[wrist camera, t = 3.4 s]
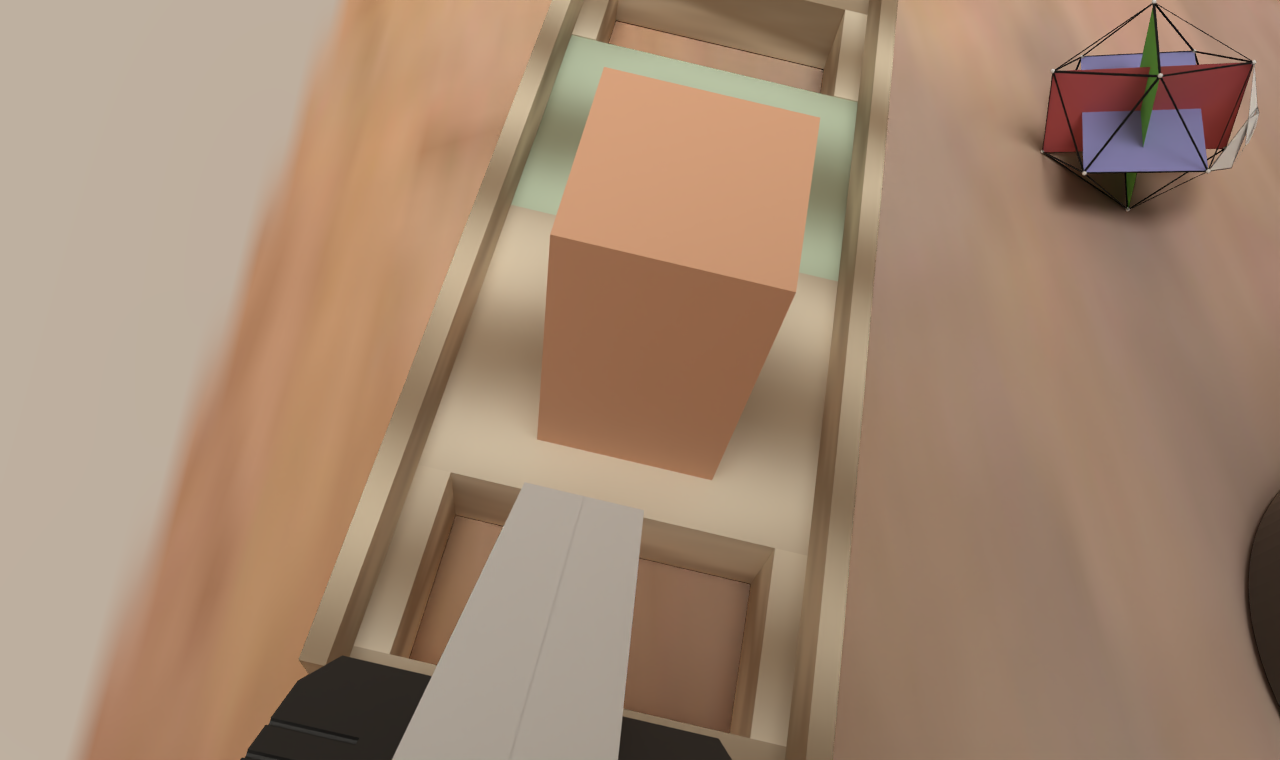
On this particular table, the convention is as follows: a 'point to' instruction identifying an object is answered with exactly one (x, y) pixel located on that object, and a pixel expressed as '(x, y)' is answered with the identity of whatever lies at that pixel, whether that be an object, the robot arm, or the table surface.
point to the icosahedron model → (1148, 111)
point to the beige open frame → (672, 502)
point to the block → (670, 269)
